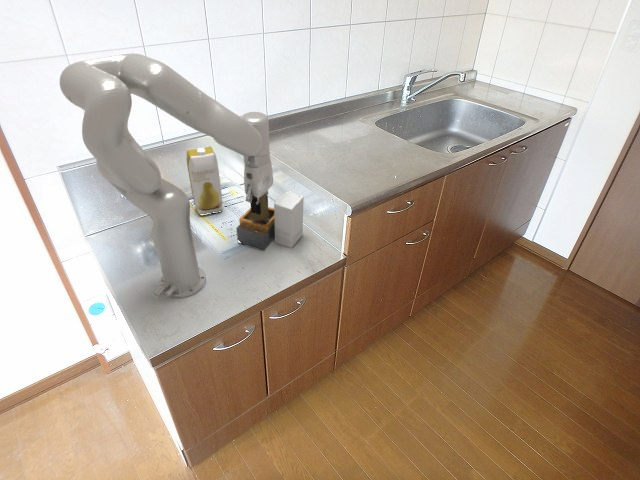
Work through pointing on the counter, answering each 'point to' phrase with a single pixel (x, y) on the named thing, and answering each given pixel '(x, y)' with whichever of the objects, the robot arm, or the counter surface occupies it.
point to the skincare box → (288, 219)
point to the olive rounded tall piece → (262, 209)
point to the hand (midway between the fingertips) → (259, 208)
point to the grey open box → (256, 230)
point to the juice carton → (204, 179)
